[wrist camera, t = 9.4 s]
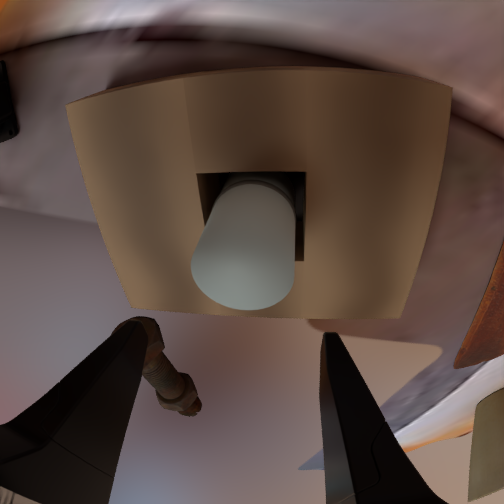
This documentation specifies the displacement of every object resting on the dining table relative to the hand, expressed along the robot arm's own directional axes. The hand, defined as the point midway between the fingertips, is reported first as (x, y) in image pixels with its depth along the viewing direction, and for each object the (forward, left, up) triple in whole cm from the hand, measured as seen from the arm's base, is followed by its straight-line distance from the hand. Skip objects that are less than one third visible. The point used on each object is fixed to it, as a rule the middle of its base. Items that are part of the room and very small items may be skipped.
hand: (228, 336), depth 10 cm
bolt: (-11, -20, -12) cm, 26 cm away
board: (0, 0, -11) cm, 11 cm away
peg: (0, 0, -11) cm, 11 cm away
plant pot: (+36, -33, -11) cm, 51 cm away
